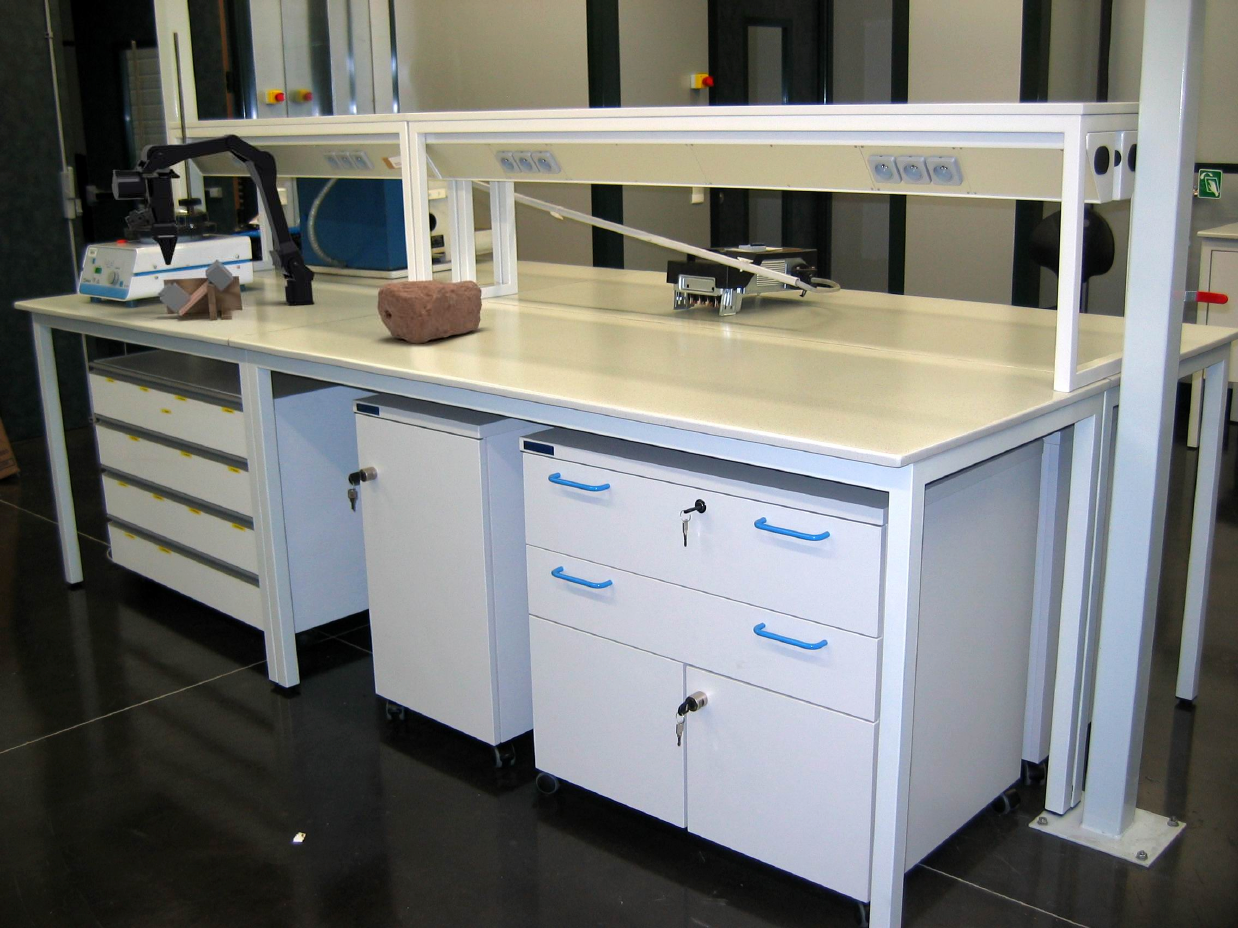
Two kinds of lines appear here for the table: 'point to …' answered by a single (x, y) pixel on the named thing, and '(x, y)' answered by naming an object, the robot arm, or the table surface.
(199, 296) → the trapdoor
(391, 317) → the stone
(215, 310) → the frame
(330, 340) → the table surface
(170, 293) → the slate block
